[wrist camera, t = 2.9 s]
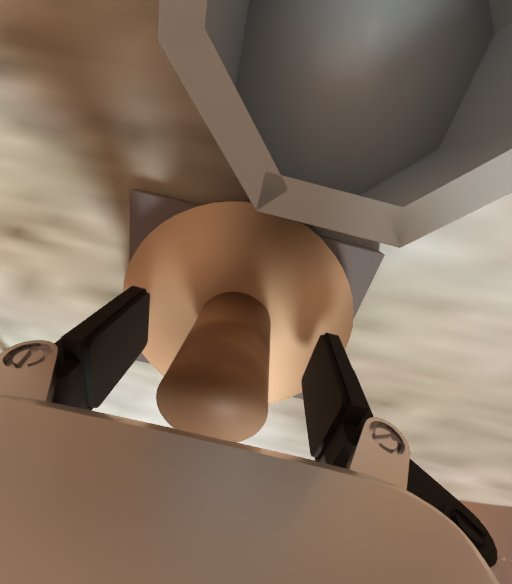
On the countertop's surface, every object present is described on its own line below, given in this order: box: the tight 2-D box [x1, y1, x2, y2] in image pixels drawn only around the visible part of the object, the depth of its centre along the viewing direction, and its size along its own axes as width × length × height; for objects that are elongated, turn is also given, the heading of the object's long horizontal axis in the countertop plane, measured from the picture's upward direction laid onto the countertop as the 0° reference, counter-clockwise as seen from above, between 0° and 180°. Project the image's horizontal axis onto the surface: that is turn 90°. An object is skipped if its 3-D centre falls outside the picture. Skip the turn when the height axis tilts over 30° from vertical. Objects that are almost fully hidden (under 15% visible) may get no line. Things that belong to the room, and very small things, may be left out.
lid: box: [123, 201, 354, 442], centre depth 10 cm, size 12×12×6 cm
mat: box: [130, 189, 384, 399], centre depth 13 cm, size 12×10×1 cm
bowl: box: [157, 0, 512, 248], centre depth 7 cm, size 10×10×5 cm
